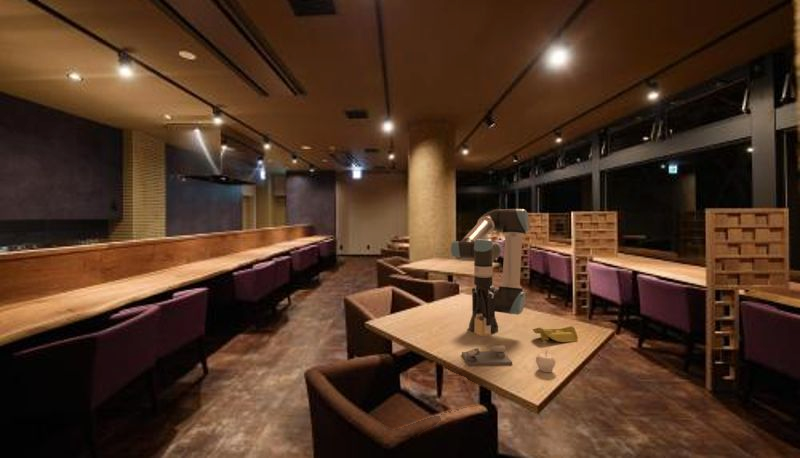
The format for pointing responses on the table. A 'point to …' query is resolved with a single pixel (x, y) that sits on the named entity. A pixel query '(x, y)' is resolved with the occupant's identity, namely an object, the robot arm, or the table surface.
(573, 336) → the plastic component
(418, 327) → the table surface
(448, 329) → the table surface
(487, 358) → the bolted mounting plate
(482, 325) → the orange rectangular block
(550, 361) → the plain white apple
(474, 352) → the shaft
